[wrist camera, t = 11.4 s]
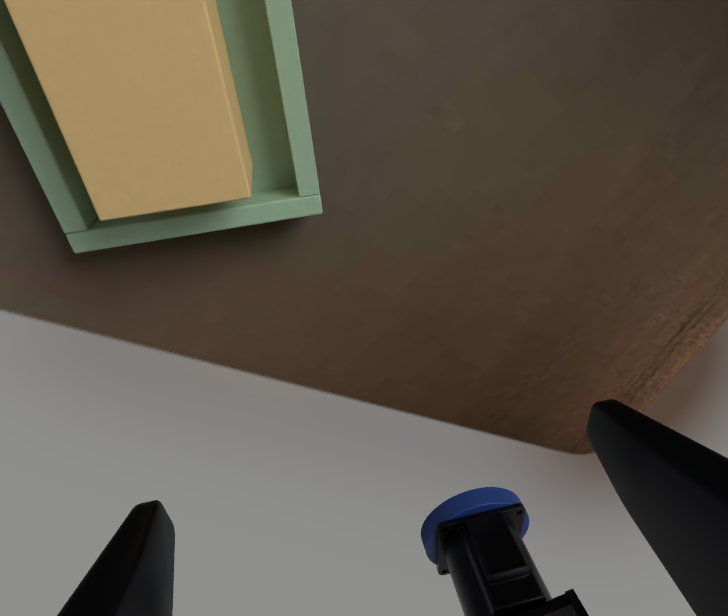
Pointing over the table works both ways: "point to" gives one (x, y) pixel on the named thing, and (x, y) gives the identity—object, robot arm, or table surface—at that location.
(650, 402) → the table surface
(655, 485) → the robot arm
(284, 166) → the tray
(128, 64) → the tan block
